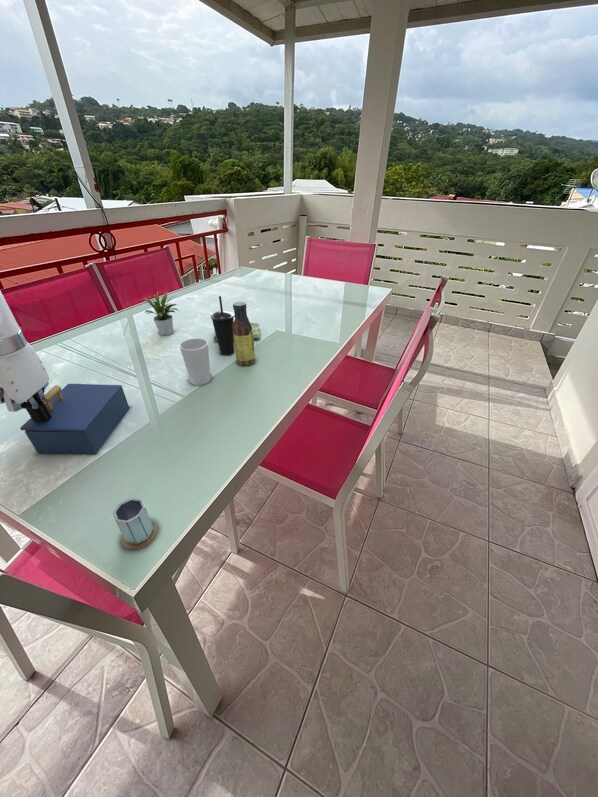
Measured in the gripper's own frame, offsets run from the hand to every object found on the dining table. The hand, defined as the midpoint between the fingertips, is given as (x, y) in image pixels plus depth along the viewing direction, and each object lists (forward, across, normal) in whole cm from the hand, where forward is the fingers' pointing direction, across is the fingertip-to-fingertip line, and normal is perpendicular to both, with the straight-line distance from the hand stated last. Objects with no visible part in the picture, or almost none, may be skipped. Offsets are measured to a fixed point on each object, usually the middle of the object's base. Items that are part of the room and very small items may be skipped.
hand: (43, 419), depth 73 cm
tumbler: (+7, +23, +29) cm, 37 cm away
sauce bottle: (+8, -42, +38) cm, 57 cm away
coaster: (+8, +23, +29) cm, 37 cm away
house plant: (+8, -64, +3) cm, 65 cm away
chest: (+8, -6, +4) cm, 10 cm away
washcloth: (+8, -63, +32) cm, 72 cm away
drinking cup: (+8, -49, +31) cm, 58 cm away
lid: (+1, -6, +4) cm, 7 cm away
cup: (+8, -30, +26) cm, 40 cm away
